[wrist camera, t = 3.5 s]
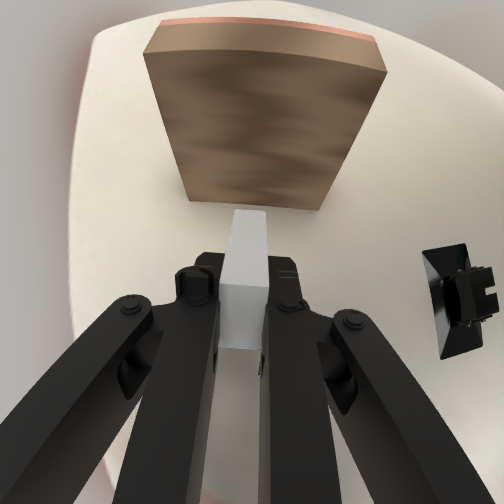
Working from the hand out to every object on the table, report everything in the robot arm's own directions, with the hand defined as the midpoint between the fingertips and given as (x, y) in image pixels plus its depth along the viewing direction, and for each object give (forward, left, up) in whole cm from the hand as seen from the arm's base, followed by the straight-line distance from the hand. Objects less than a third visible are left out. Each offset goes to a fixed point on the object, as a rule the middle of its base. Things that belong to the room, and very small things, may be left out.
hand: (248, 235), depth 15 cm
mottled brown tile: (-2, -6, -7) cm, 9 cm away
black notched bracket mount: (-16, +8, -7) cm, 19 cm away
